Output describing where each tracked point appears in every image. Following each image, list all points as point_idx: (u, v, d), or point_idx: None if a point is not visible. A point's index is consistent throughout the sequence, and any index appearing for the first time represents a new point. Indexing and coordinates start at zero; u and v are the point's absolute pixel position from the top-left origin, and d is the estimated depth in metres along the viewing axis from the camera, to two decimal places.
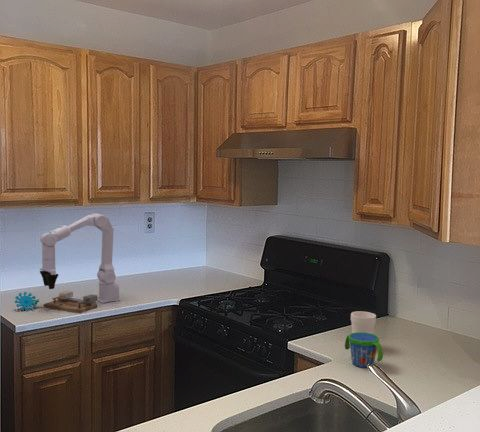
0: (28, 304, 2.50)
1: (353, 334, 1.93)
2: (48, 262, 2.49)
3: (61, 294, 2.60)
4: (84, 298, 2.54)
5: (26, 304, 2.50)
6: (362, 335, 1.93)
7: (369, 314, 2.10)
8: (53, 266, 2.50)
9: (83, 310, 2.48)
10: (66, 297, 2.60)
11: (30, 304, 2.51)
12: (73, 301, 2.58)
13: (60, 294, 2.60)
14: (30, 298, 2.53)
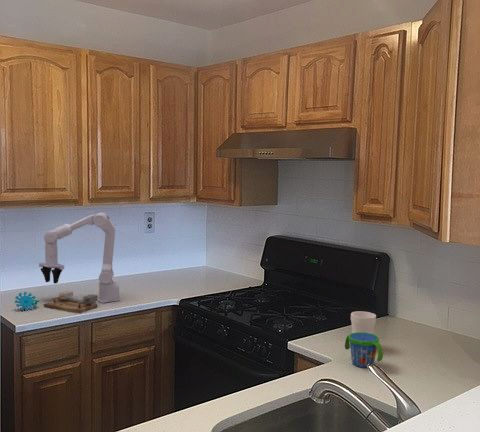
0: (28, 304, 2.50)
1: (353, 334, 1.93)
2: (54, 258, 2.62)
3: (61, 294, 2.60)
4: (84, 298, 2.54)
5: (26, 304, 2.50)
6: (362, 335, 1.93)
7: (369, 314, 2.10)
8: (57, 262, 2.64)
9: (83, 310, 2.48)
10: (66, 297, 2.60)
11: (30, 304, 2.51)
12: (73, 301, 2.58)
13: (60, 294, 2.60)
14: (30, 298, 2.53)
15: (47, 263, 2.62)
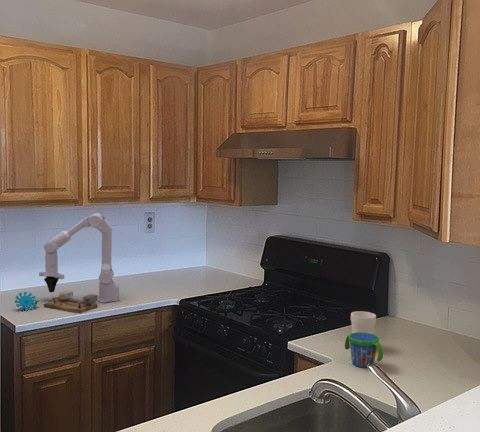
0: (28, 304, 2.50)
1: (353, 334, 1.93)
2: (54, 268, 2.63)
3: (61, 294, 2.60)
4: (84, 298, 2.54)
5: (26, 304, 2.50)
6: (362, 335, 1.93)
7: (369, 314, 2.10)
8: (57, 271, 2.65)
9: (83, 310, 2.48)
10: (66, 297, 2.60)
11: (30, 304, 2.51)
12: (73, 301, 2.58)
13: (60, 294, 2.60)
14: (30, 298, 2.53)
15: (47, 273, 2.62)
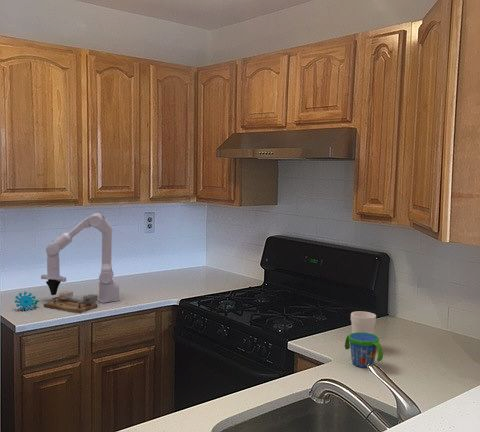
0: (28, 304, 2.50)
1: (353, 334, 1.93)
2: (56, 271, 2.62)
3: (61, 294, 2.60)
4: (84, 298, 2.54)
5: (26, 304, 2.50)
6: (362, 335, 1.93)
7: (369, 314, 2.10)
8: (59, 274, 2.65)
9: (83, 310, 2.48)
10: (66, 297, 2.60)
11: (30, 304, 2.51)
12: (73, 301, 2.58)
13: (60, 294, 2.60)
14: (30, 298, 2.53)
15: (49, 275, 2.62)
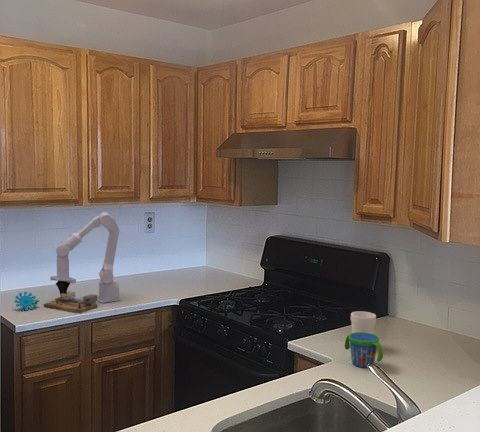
0: (28, 304, 2.50)
1: (353, 334, 1.93)
2: (66, 272, 2.60)
3: (63, 294, 2.59)
4: (84, 298, 2.54)
5: (26, 304, 2.50)
6: (362, 335, 1.93)
7: (369, 314, 2.10)
8: (68, 275, 2.62)
9: (83, 310, 2.48)
10: (68, 297, 2.59)
11: (30, 304, 2.51)
12: (73, 301, 2.58)
13: (62, 294, 2.59)
14: (30, 298, 2.53)
15: (59, 277, 2.59)
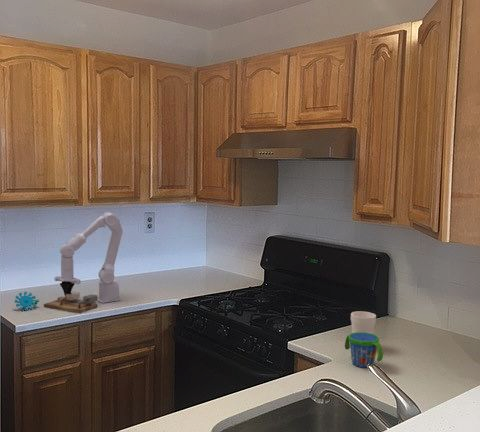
0: (28, 304, 2.50)
1: (353, 334, 1.93)
2: (70, 273, 2.59)
3: (68, 295, 2.58)
4: (84, 298, 2.54)
5: (26, 304, 2.50)
6: (362, 335, 1.93)
7: (369, 314, 2.10)
8: (73, 276, 2.61)
9: (83, 310, 2.48)
10: (73, 298, 2.58)
11: (30, 304, 2.51)
12: (73, 301, 2.58)
13: (67, 295, 2.58)
14: (30, 298, 2.53)
15: (63, 277, 2.58)
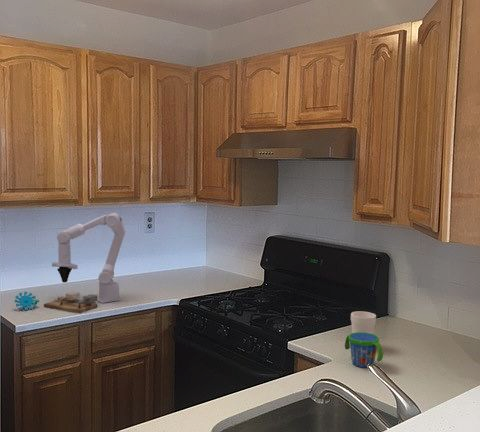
0: (28, 304, 2.50)
1: (353, 334, 1.93)
2: (67, 258, 2.64)
3: (68, 295, 2.58)
4: (84, 298, 2.54)
5: (26, 304, 2.50)
6: (362, 335, 1.93)
7: (369, 314, 2.10)
8: (70, 261, 2.66)
9: (83, 310, 2.48)
10: (73, 298, 2.58)
11: (30, 304, 2.51)
12: (73, 301, 2.58)
13: (67, 295, 2.58)
14: (30, 298, 2.53)
15: (60, 263, 2.63)
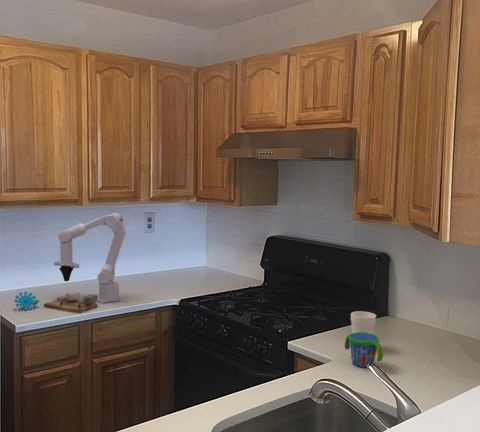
0: (28, 304, 2.51)
1: (353, 334, 1.93)
2: (69, 257, 2.66)
3: (68, 295, 2.58)
4: (84, 298, 2.54)
5: (26, 304, 2.50)
6: (362, 335, 1.93)
7: (369, 314, 2.10)
8: None
9: (83, 310, 2.48)
10: (73, 298, 2.58)
11: (30, 304, 2.51)
12: (73, 301, 2.58)
13: (67, 295, 2.58)
14: (30, 298, 2.53)
15: (62, 262, 2.66)
